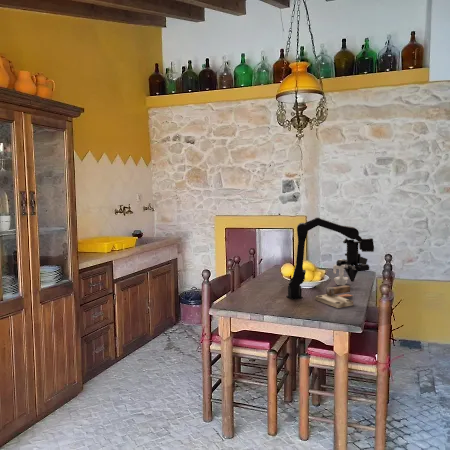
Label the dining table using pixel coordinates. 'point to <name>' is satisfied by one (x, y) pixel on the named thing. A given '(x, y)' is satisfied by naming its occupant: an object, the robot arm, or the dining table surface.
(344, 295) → the marker strip
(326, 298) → the birch seat
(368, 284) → the dining table surface
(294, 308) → the dining table surface
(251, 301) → the dining table surface
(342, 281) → the figurine
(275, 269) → the dining table surface
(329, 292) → the walnut leg
